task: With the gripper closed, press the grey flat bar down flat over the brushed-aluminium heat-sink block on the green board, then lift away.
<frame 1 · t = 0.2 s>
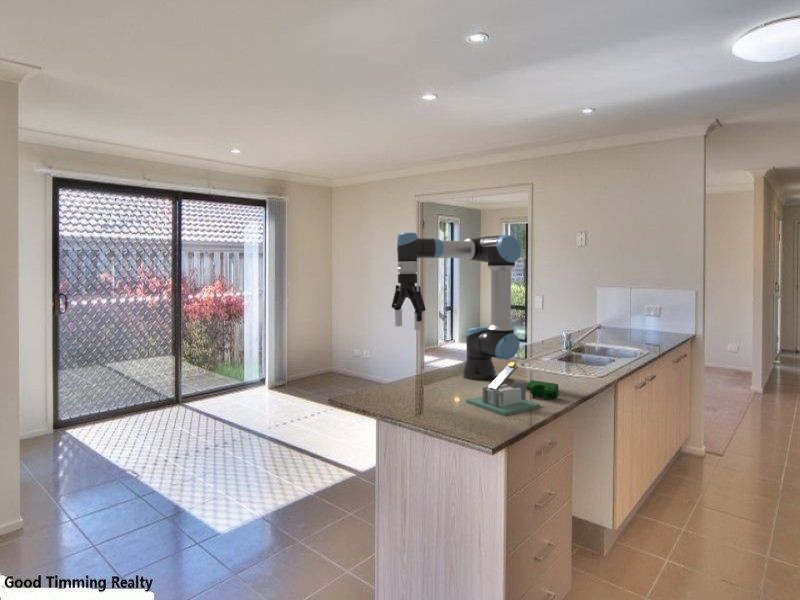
hand: (408, 328, 194), 28 cm above the worktop, fingers open, 13 cm apart
clamp: (541, 398, 196), on the worktop
board: (502, 405, 186), on the worktop
grey flat bar: (503, 375, 185), point 11 cm above the worktop, hinge at 35.0°
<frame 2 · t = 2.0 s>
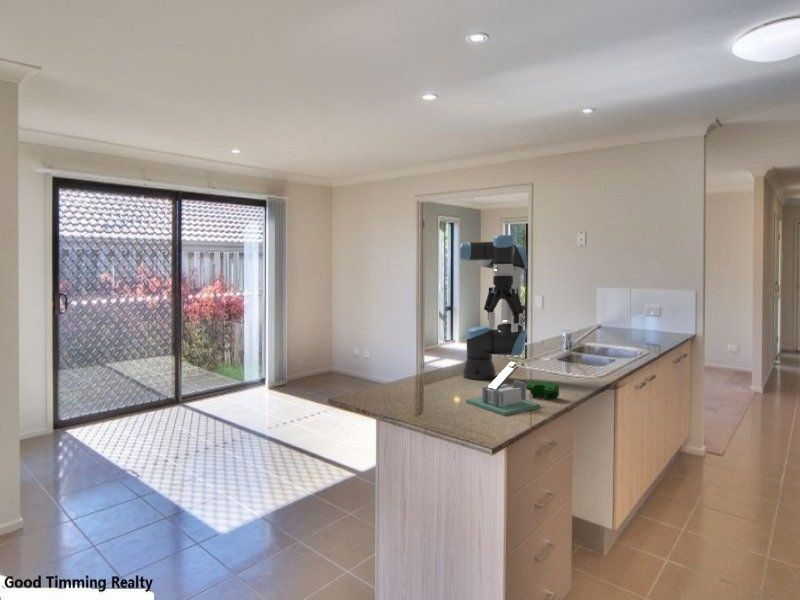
hand: (502, 330, 197), 26 cm above the worktop, fingers open, 12 cm apart
nothing on the worktop moved.
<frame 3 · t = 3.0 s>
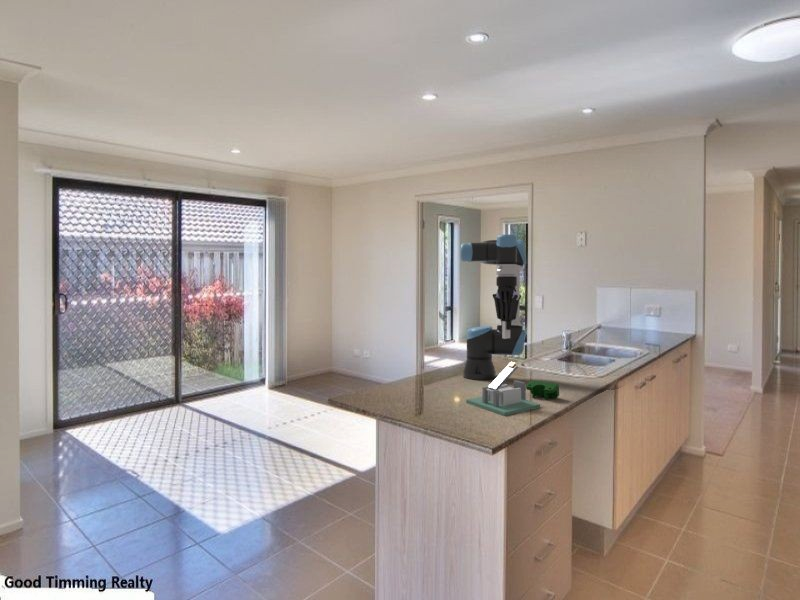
hand: (506, 338, 190), 24 cm above the worktop, fingers closed
nothing on the worktop moved.
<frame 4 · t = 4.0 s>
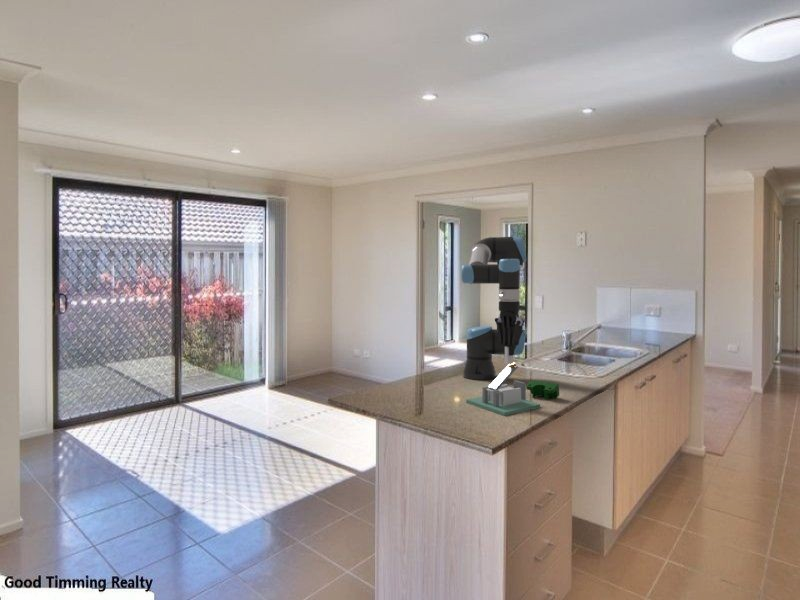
hand: (508, 363, 186), 15 cm above the worktop, fingers closed
grey flat bar: (503, 375, 185), point 11 cm above the worktop, hinge at 35.0°, touching gripper
everything else where it was.
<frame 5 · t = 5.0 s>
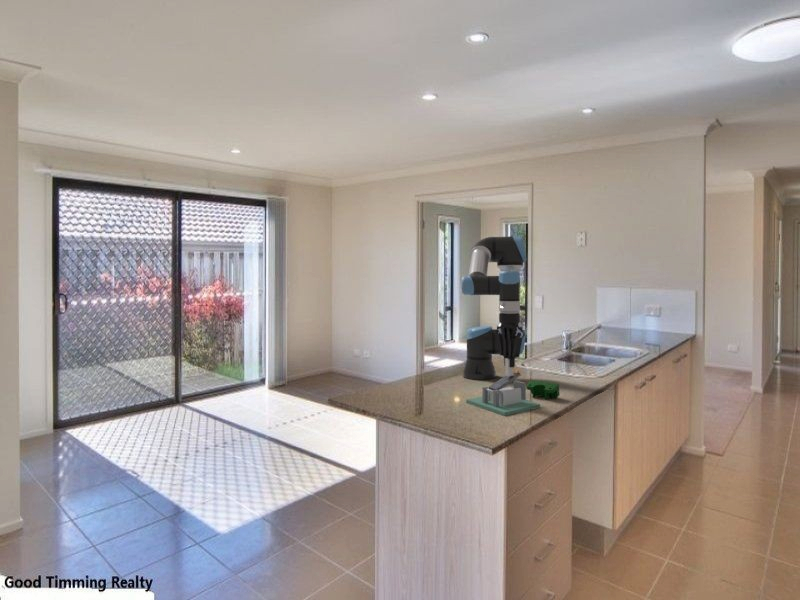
hand: (509, 375, 187), 11 cm above the worktop, fingers closed
grey flat bar: (505, 380, 186), point 9 cm above the worktop, hinge at 20.2°, touching gripper
everything else where it was.
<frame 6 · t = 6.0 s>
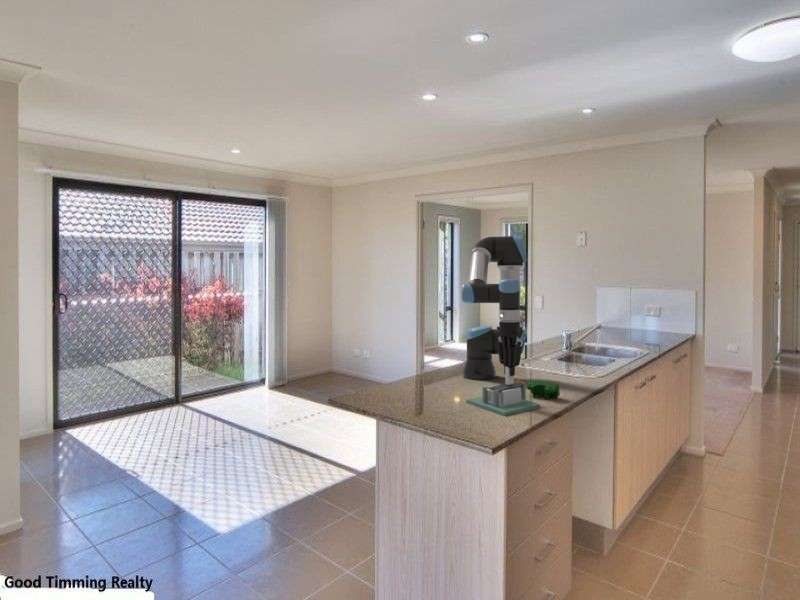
hand: (509, 383, 187), 8 cm above the worktop, fingers closed
grey flat bar: (506, 385, 186), point 7 cm above the worktop, hinge at 3.1°, touching board, gripper
everything else where it was.
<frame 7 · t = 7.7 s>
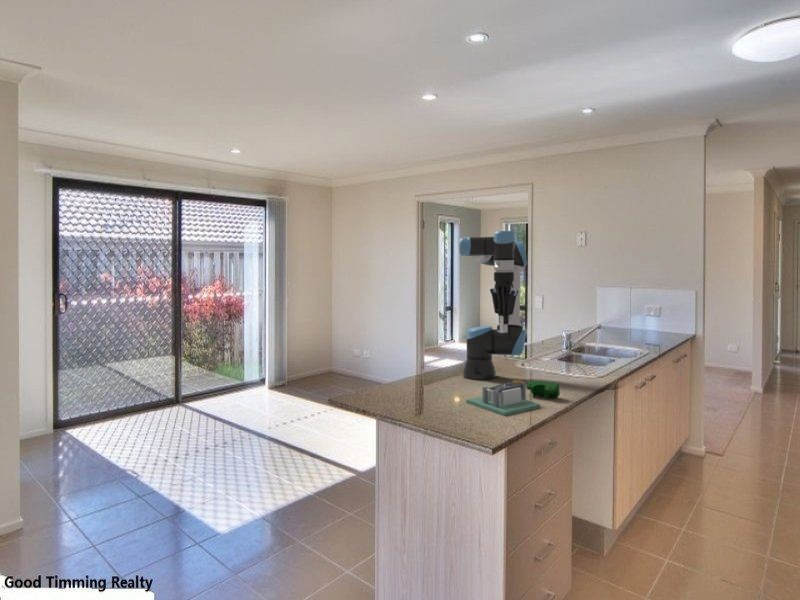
hand: (503, 332, 194), 26 cm above the worktop, fingers closed
grey flat bar: (506, 385, 186), point 7 cm above the worktop, hinge at 3.1°, touching board
everything else where it was.
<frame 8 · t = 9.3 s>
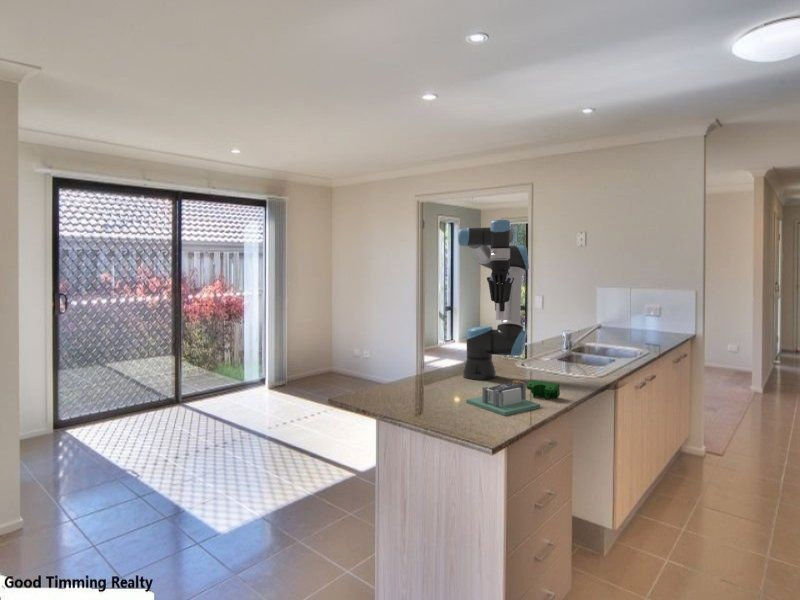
hand: (499, 319, 198), 30 cm above the worktop, fingers closed
nothing on the worktop moved.
at the end: grey flat bar at +3° (first picture: +35°); grey flat bar touching board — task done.
